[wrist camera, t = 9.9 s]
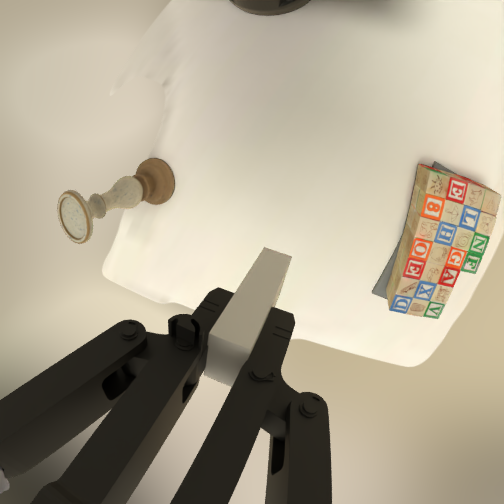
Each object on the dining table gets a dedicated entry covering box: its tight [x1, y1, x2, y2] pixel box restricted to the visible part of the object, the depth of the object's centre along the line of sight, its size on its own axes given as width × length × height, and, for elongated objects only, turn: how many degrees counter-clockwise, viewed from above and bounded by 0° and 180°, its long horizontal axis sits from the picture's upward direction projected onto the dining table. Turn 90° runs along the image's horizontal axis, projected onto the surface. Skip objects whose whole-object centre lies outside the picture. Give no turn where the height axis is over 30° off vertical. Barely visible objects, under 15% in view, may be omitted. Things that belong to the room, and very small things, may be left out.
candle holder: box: [57, 158, 175, 244], centre depth 40 cm, size 9×9×20 cm
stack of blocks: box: [386, 164, 501, 319], centre depth 34 cm, size 21×6×12 cm
